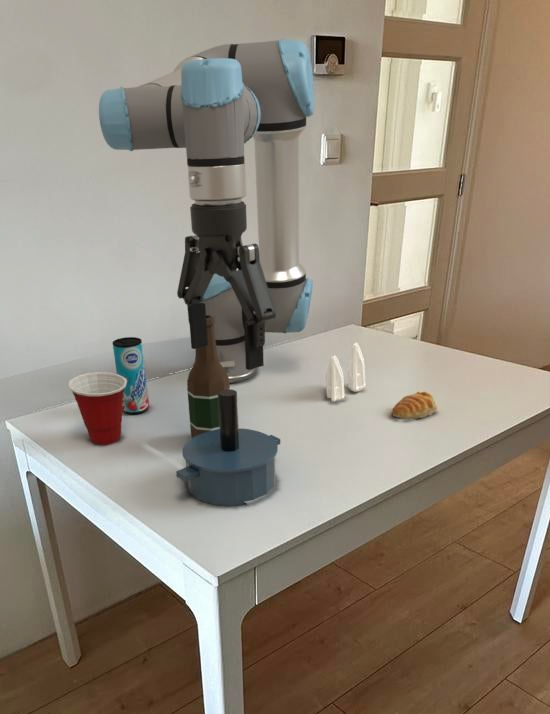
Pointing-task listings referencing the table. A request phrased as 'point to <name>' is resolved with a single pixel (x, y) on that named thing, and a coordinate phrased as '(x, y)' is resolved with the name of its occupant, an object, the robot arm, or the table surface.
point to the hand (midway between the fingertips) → (225, 356)
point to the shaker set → (354, 374)
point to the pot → (229, 483)
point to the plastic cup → (100, 404)
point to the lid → (229, 443)
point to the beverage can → (132, 374)
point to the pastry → (415, 406)
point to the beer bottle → (206, 385)
